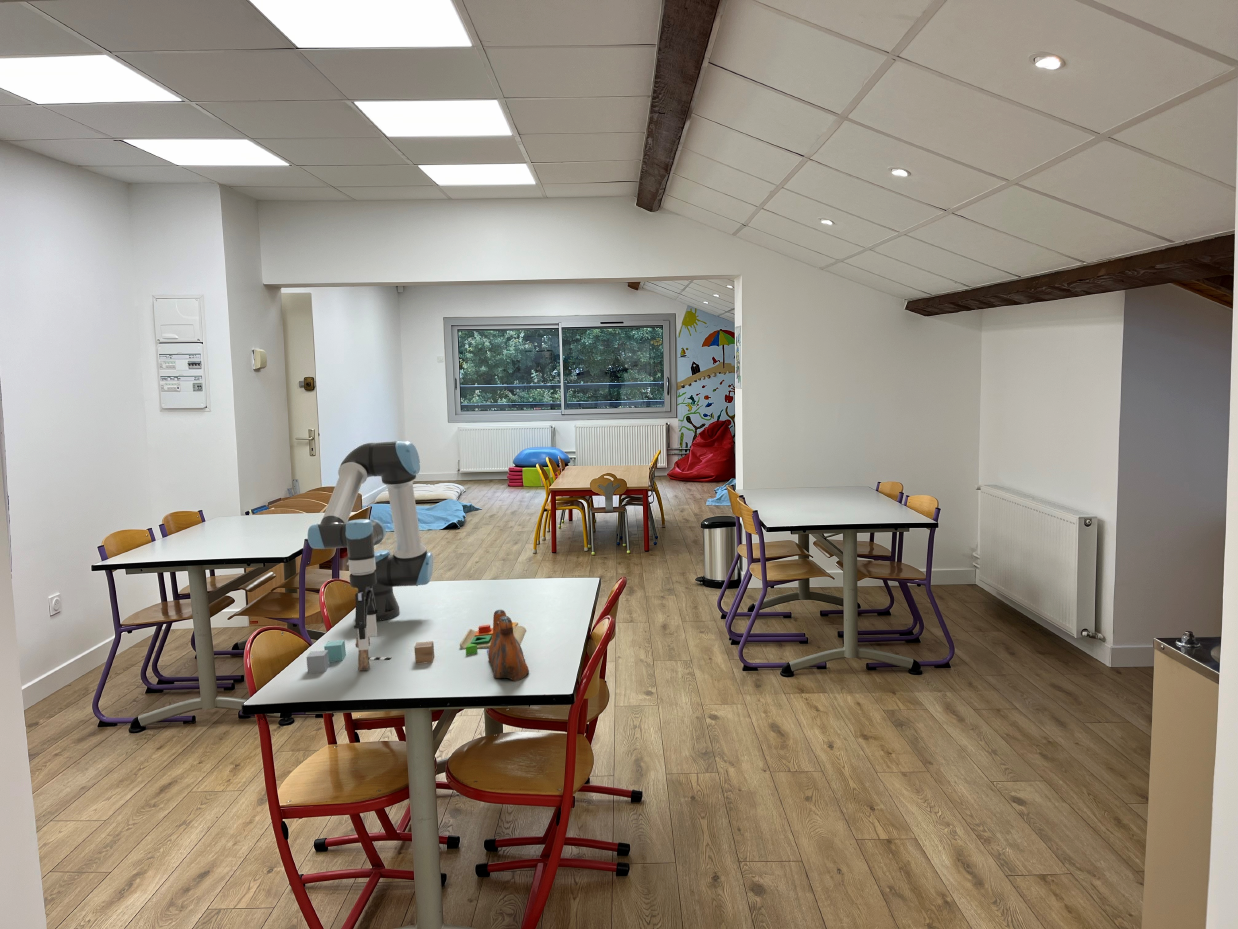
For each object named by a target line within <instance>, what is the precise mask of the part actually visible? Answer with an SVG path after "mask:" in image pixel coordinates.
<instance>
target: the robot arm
mask: <svg viewBox="0 0 1238 929" xmlns="http://www.w3.org/2000/svg"><path fill="white" fill-rule="evenodd" d="M420 463H421V462H420V456H419V452H418V450H417V447H416V445H415V444H413V443H412V442H410V441H403V440H402V441H400V440H397V441H395V440H394V441H384V442H368V443H367V442H366V443H364V444H361V445H359V446H357V447H356V448H354V449H353V450H352V451H350V452H349V453H348V454H347V455H346V456H345V458H344V459H343V460H342V462H341V464H340V466H339V468H338V472H337V473H338V474H337V475H338V479H337V481H336V484H335V486H334V489H333V492H332V494H331V496H330V499H329V502H328V503H327V506H326V510H325V511H324V514H323V516H322V519H321V520H320V523H316V524H311V525H309V528H308V530H307V541H308V544H309V546H310V547H311V549H318V550H320V549H321V550H326V549H327V550H328V549H341V548H347V560H348V561H346V565H347V566H348V571H349V573H350V574H349V586H350V587H351V588H353V589H355V588H356V589H357V592H356V593H355V594H354V597H355V614H354V615H355V620H354V622H355V624H354V625H353V629H355V630H357V637H358V644H359V648H358V651H359V650H367V649H368V650H369V649H370V646H369V642H368V636H369V637H377V636H378V628H377V622H378V621H384V620H385V621H386V620H389V619H392V618H396V617H398V616H399V615H400V613H401V611H400V606H399V603H398V601H397V598H396V596H395V594H394V587H397V588H398V587H415V586H416V587H418V586H425V585H428V584H429V583H430V582H431V579H432V576H433V569H434V555H433V553H432V552H431V551H427V547H426V545H424V544H423V543H422V540H421V533H420V526H419V520H418V519H419V518H418V511H417V506H416V498H415V491H414V484H413V483H414V482H415V480H416V479H417V475H419V474H420V470H421V464H420ZM370 477H371V478H372V477H381V482H382V484H383V485H385V486H386V487H387V492H388V500H389V506H390V512H391V519H392V525H393V531H394V536H395V537H394V540H395V544H396V547H395V549H394V550H393V554H391V552H390V550H389V549H381V550H375V546H377V545H379V544H380V543H381V542H382V541H383V540H384V539H385V537H386V534H387V530H386V526H385V525H384V524H383V522H382V521H380V520H377V519H368V518H365V519H364V518H359V519H352V520H349V519H350V517H351V515H352V514H351V513H352V510H353V508H354V505H355V502H356V500H357V497H358V494H359V492H360V490H361V486H362V485H363V484H364V483H365V482H366V481H367V480H368V478H370Z"/></svg>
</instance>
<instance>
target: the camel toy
mask: <svg viewBox="0 0 1238 929" xmlns="http://www.w3.org/2000/svg"><path fill="white" fill-rule="evenodd" d="M492 620H493V624H492V628H493V636H492V641H491V642H490V643H491V644H490V648H488V649H489V654H488V653H487V658H488V661H489V663H490V665H491V666H490V667H491V670H492V671H493V675H492V676H493V678H494V679H501V678H505V679H506V678H507V679H509V680H511V681H513V682H515V681H520V680H522V679H523V678H525V677H526V676H527V674H528V673H529V672H530V670H529V667H528V664H527V663H526V659H525V655H524V651H523V649H522V647H521V645H520V644H519V642H518V640H517V639H516V638H515V636H514V633H513V626H512V625H513V623H512V622H513V621H512V619H511V617H510V616H508V615H507V613H506V611H505V610H504V609H496V610H495V611H494V612H493V619H492Z"/></svg>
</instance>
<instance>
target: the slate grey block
mask: <svg viewBox="0 0 1238 929" xmlns="http://www.w3.org/2000/svg"><path fill="white" fill-rule="evenodd" d="M305 658H306V668H307V674H313V673H317V672H318V673H326V672H327V671H328V670H329V669H328V668H330V662H329V656H328V650H324V649H323V650H316V651H315V650H314V651H310V652H309V653H308V654H307V656H306V657H305Z"/></svg>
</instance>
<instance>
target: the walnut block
mask: <svg viewBox="0 0 1238 929" xmlns="http://www.w3.org/2000/svg"><path fill="white" fill-rule="evenodd" d="M434 644H435V643H434V641H433V640H430V641H429V640H428V641H420V642H416V643H415V645H414V646H413V647H414V648H413V649H414V659H415V660H414V662H415V665H417V664H429V663H430V664H431V663H433V662H434V659H435V645H434Z"/></svg>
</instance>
